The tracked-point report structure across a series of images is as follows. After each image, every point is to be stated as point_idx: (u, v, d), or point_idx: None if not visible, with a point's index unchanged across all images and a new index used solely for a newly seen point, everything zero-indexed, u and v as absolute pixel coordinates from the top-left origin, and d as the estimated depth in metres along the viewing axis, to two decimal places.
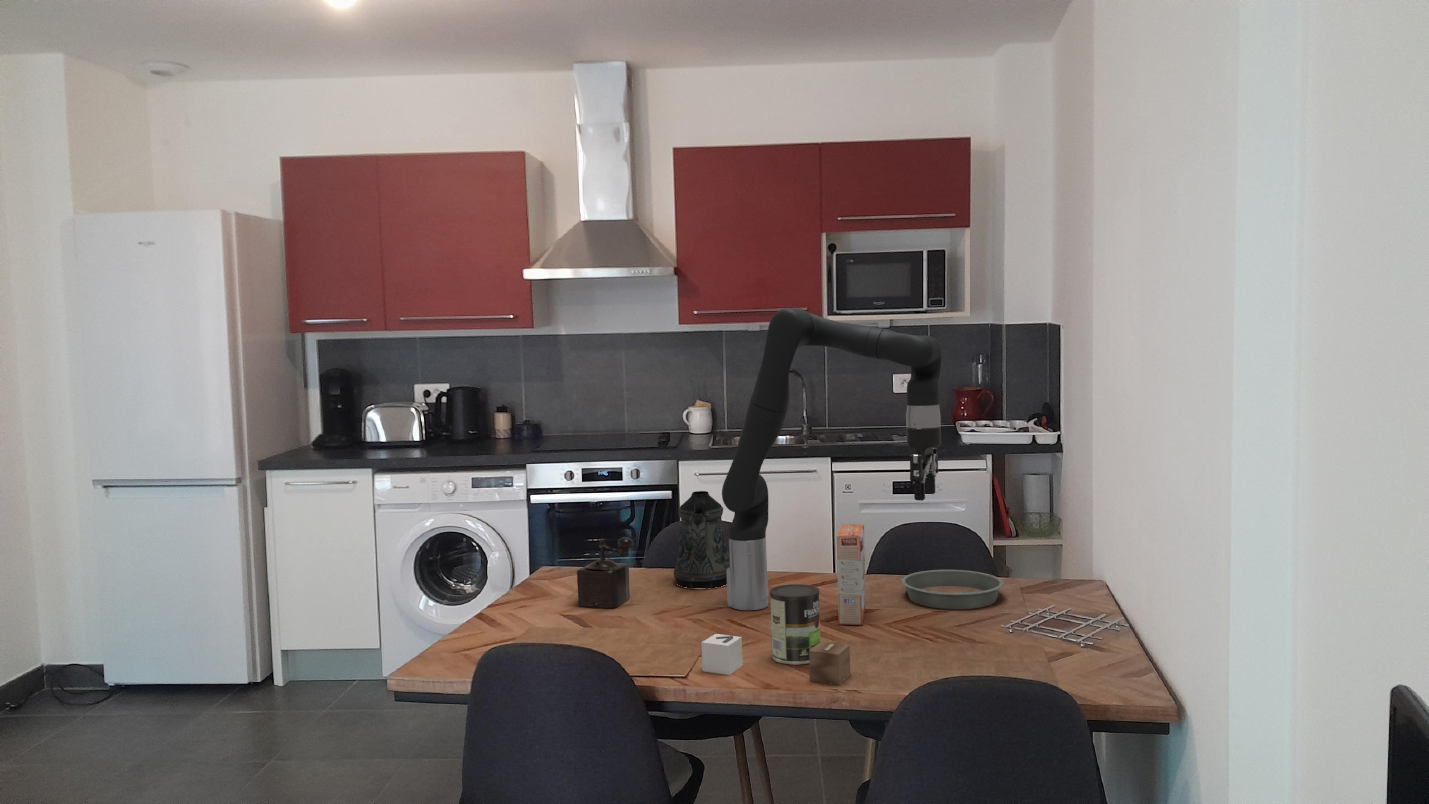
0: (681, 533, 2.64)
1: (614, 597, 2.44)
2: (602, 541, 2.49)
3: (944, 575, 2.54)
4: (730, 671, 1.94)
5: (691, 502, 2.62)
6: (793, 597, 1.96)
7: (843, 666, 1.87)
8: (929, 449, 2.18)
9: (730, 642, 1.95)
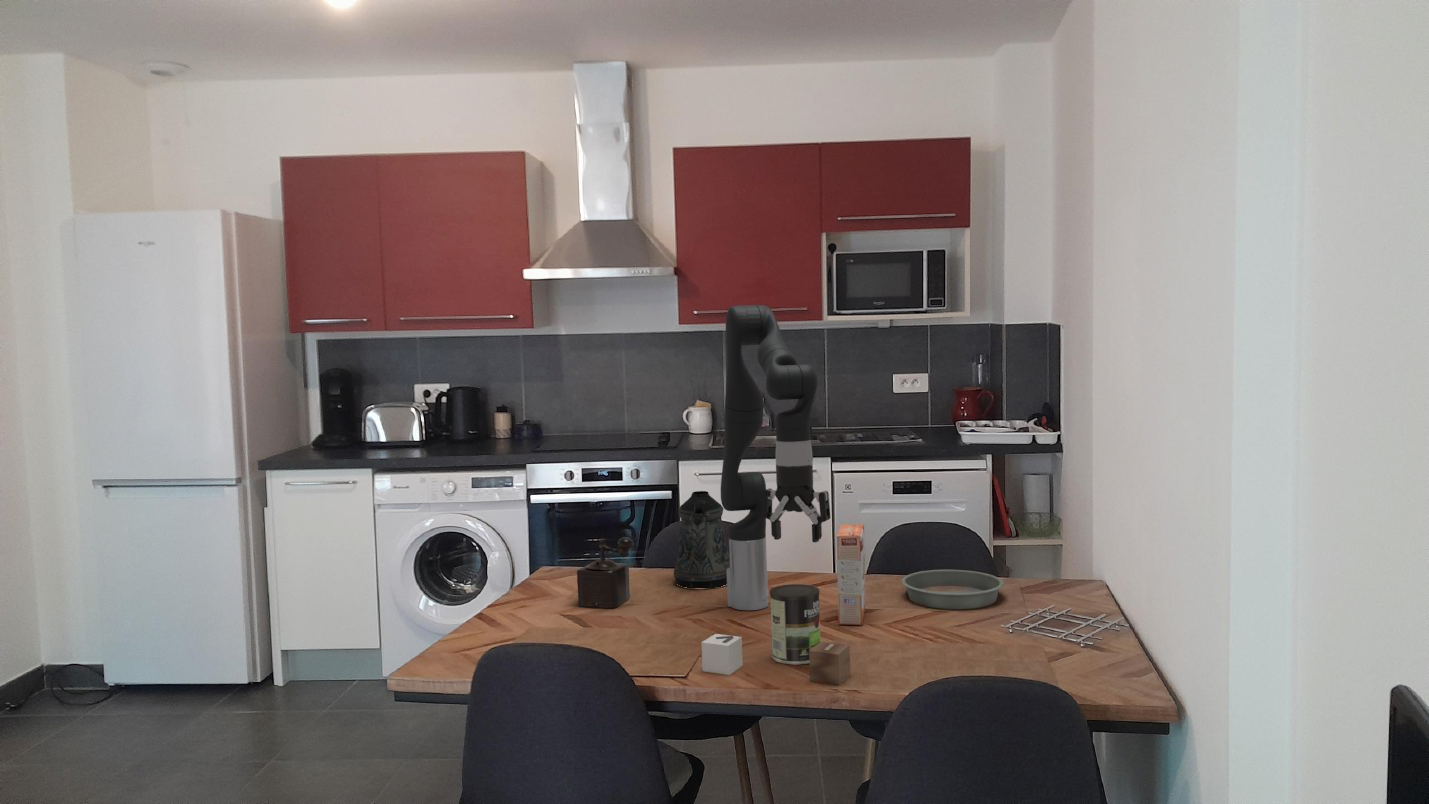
0: (681, 533, 2.64)
1: (614, 597, 2.44)
2: (602, 541, 2.49)
3: (944, 575, 2.54)
4: (730, 671, 1.94)
5: (691, 502, 2.62)
6: (793, 597, 1.96)
7: (843, 666, 1.87)
8: None
9: (730, 642, 1.95)
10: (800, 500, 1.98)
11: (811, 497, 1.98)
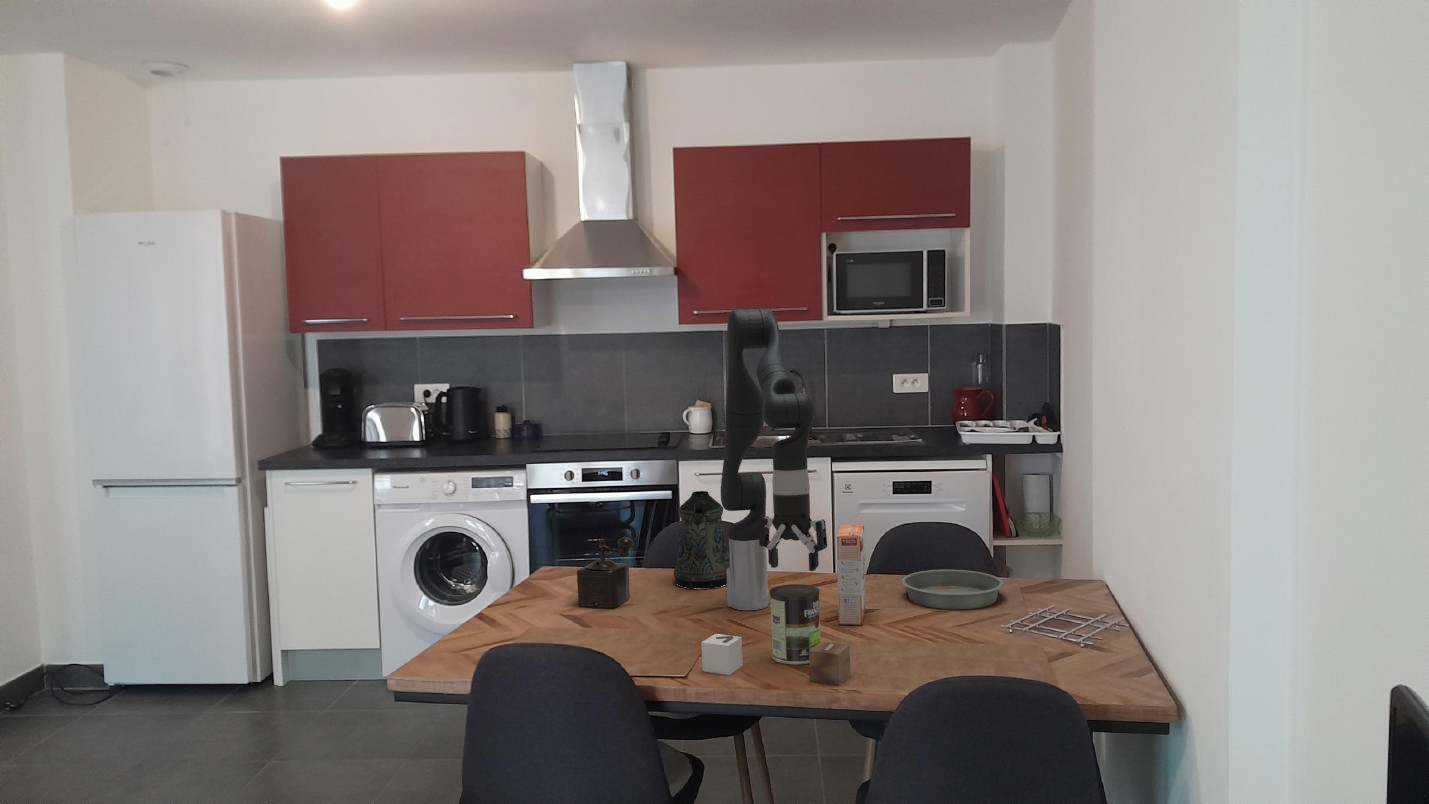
0: (681, 533, 2.64)
1: (614, 597, 2.44)
2: (602, 541, 2.49)
3: (944, 575, 2.54)
4: (730, 671, 1.94)
5: (691, 502, 2.62)
6: (793, 597, 1.96)
7: (843, 666, 1.87)
8: None
9: (730, 642, 1.95)
10: (797, 529, 1.98)
11: (808, 526, 1.98)
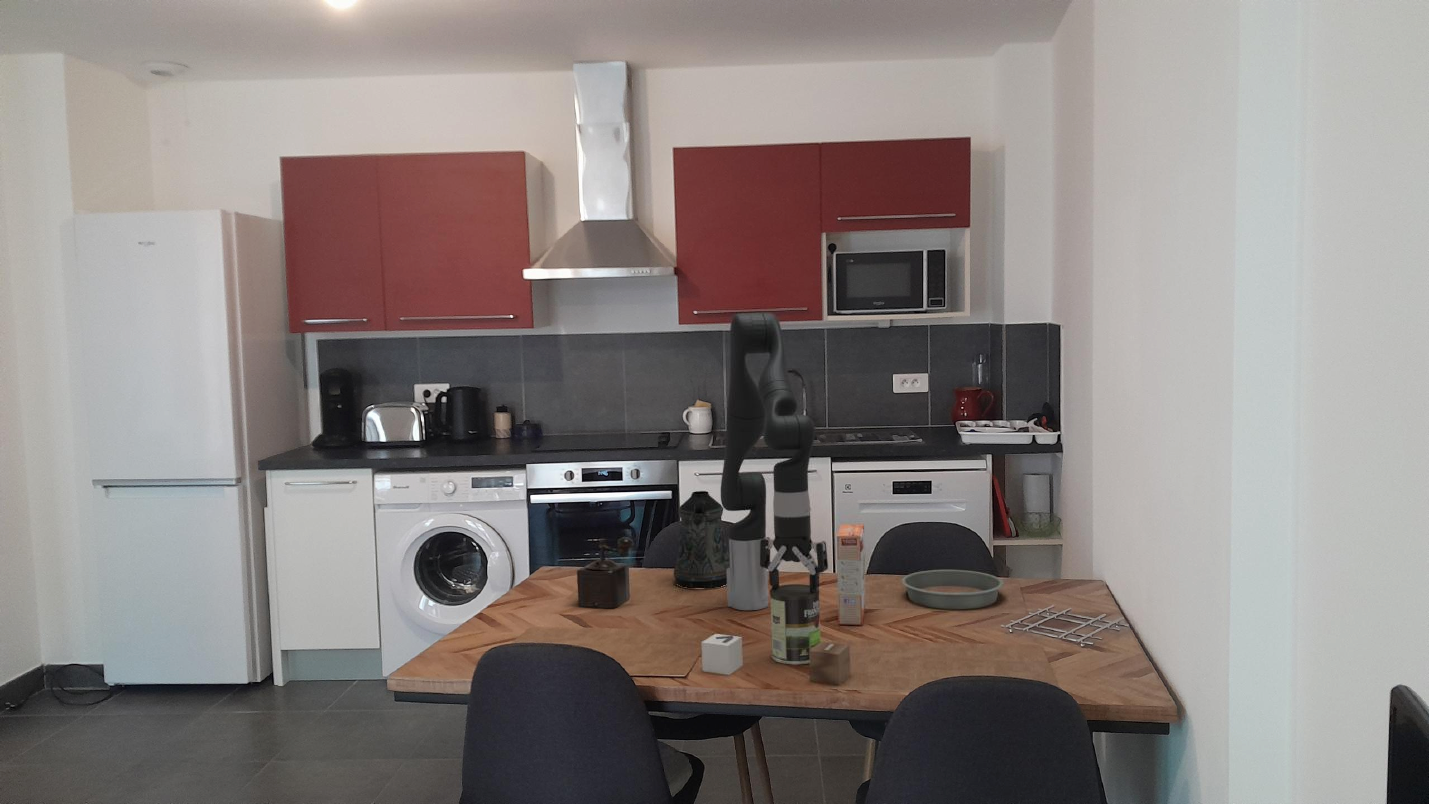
0: (681, 533, 2.64)
1: (614, 597, 2.44)
2: (602, 541, 2.49)
3: (944, 575, 2.54)
4: (730, 671, 1.94)
5: (691, 502, 2.62)
6: (793, 597, 1.96)
7: (843, 666, 1.87)
8: None
9: (730, 642, 1.95)
10: (798, 550, 1.98)
11: (809, 548, 1.98)
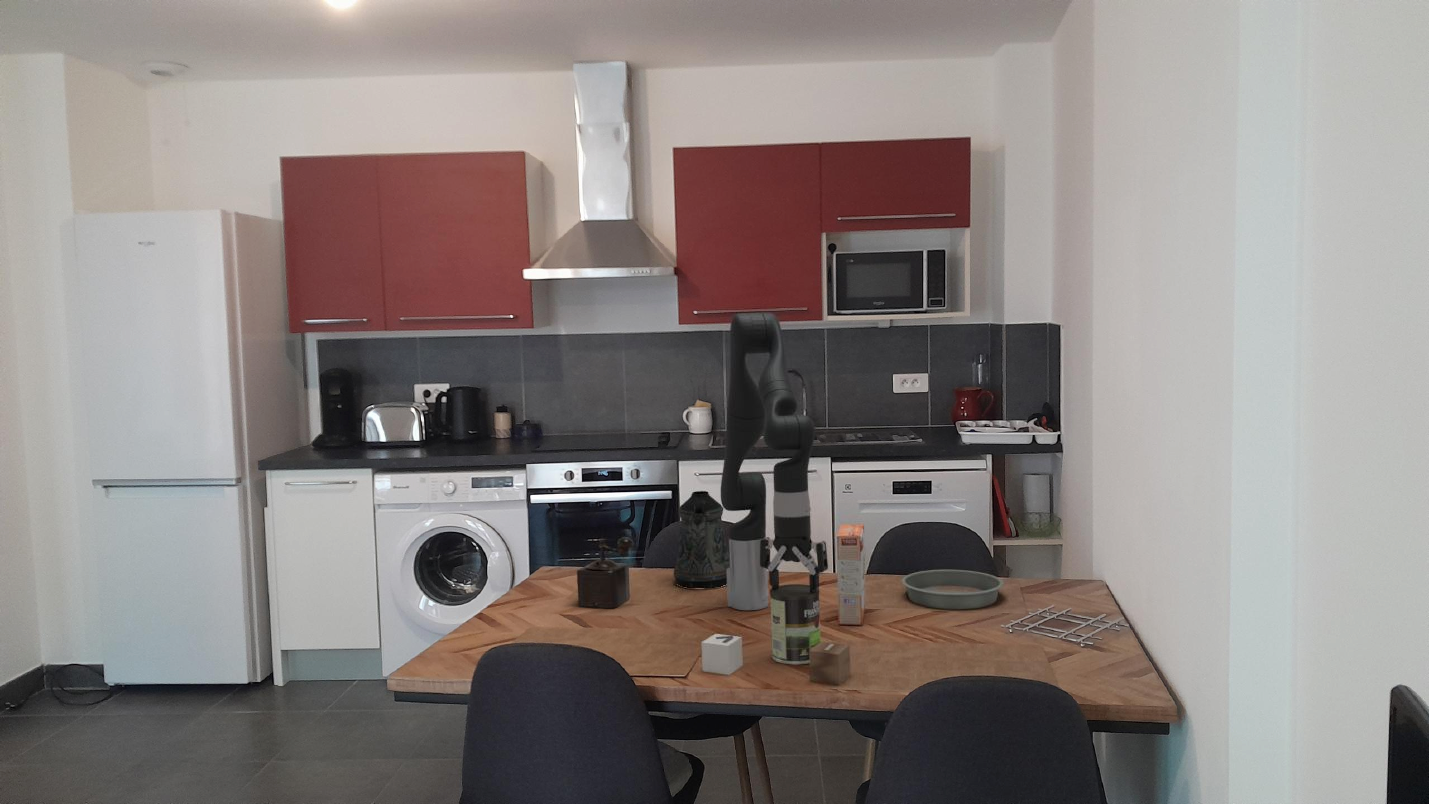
0: (681, 533, 2.64)
1: (614, 597, 2.44)
2: (602, 541, 2.49)
3: (944, 575, 2.54)
4: (730, 671, 1.94)
5: (691, 502, 2.62)
6: (793, 597, 1.96)
7: (843, 666, 1.87)
8: None
9: (730, 642, 1.95)
10: (798, 550, 1.98)
11: (809, 548, 1.98)
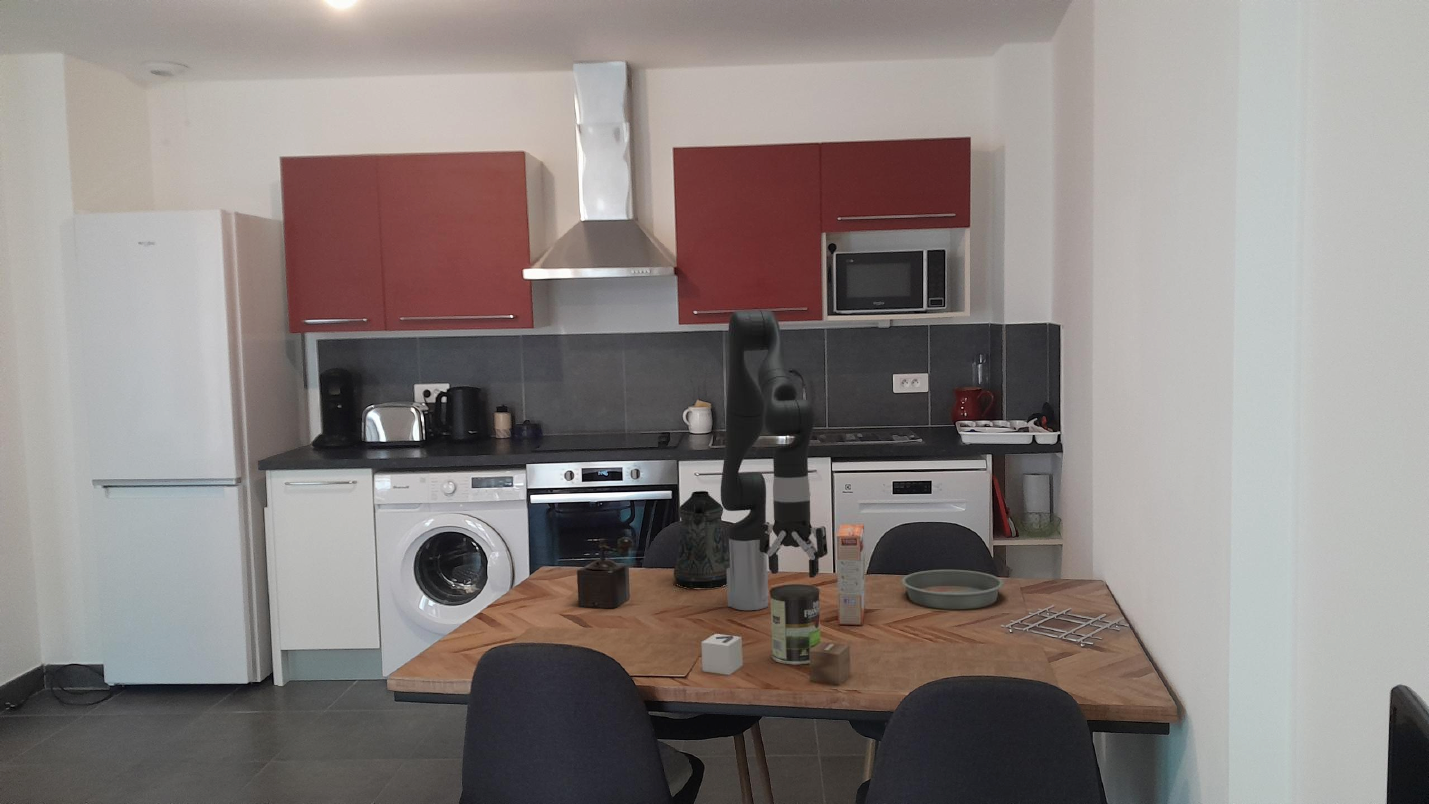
0: (681, 533, 2.64)
1: (614, 597, 2.44)
2: (602, 541, 2.49)
3: (944, 575, 2.54)
4: (730, 671, 1.94)
5: (691, 502, 2.62)
6: (793, 597, 1.96)
7: (843, 666, 1.87)
8: None
9: (730, 642, 1.95)
10: (797, 535, 1.98)
11: (808, 533, 1.98)
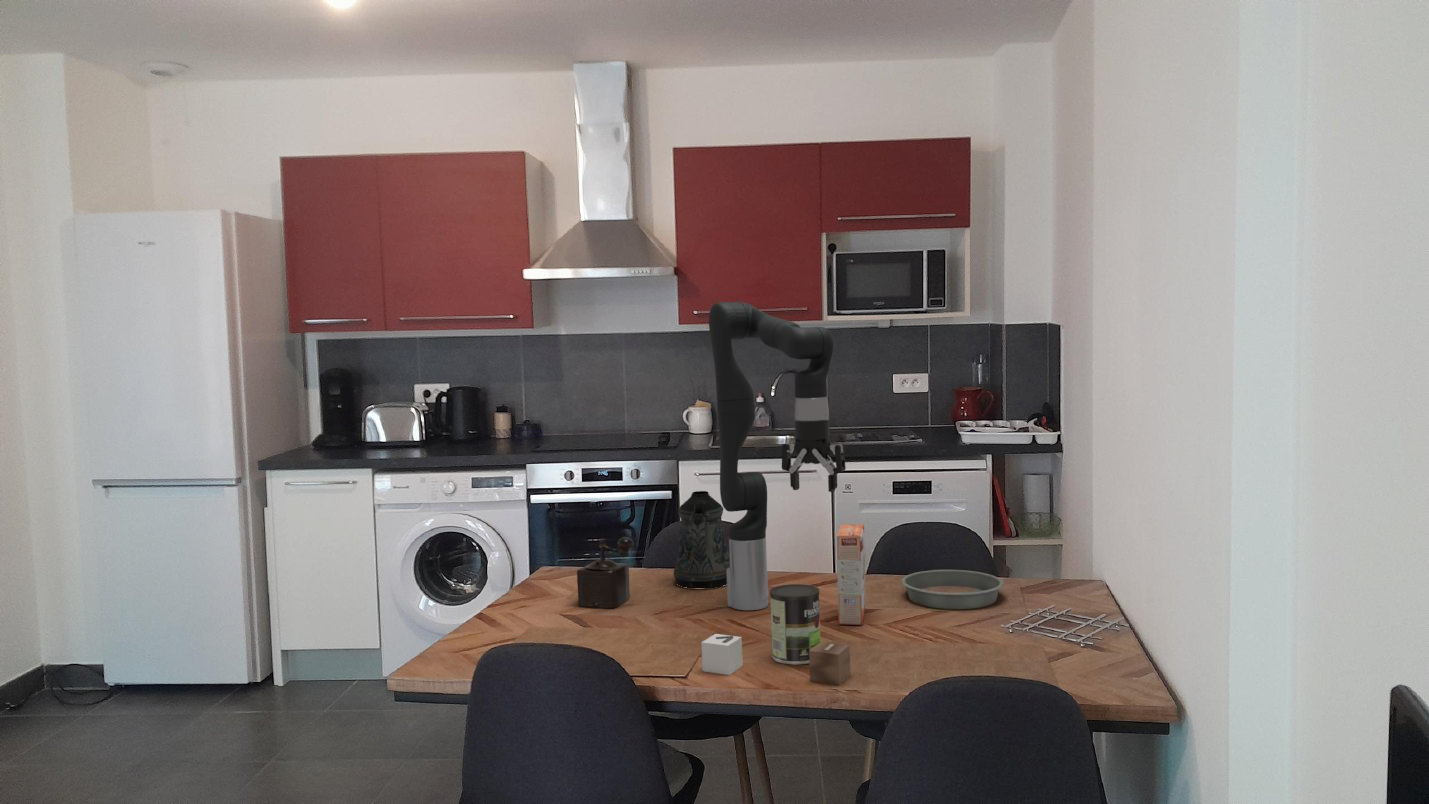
0: (681, 533, 2.64)
1: (614, 597, 2.44)
2: (602, 541, 2.49)
3: (944, 575, 2.54)
4: (730, 671, 1.93)
5: (691, 502, 2.62)
6: (793, 597, 1.96)
7: (843, 666, 1.87)
8: None
9: (730, 642, 1.95)
10: (817, 452, 2.13)
11: (827, 450, 2.13)
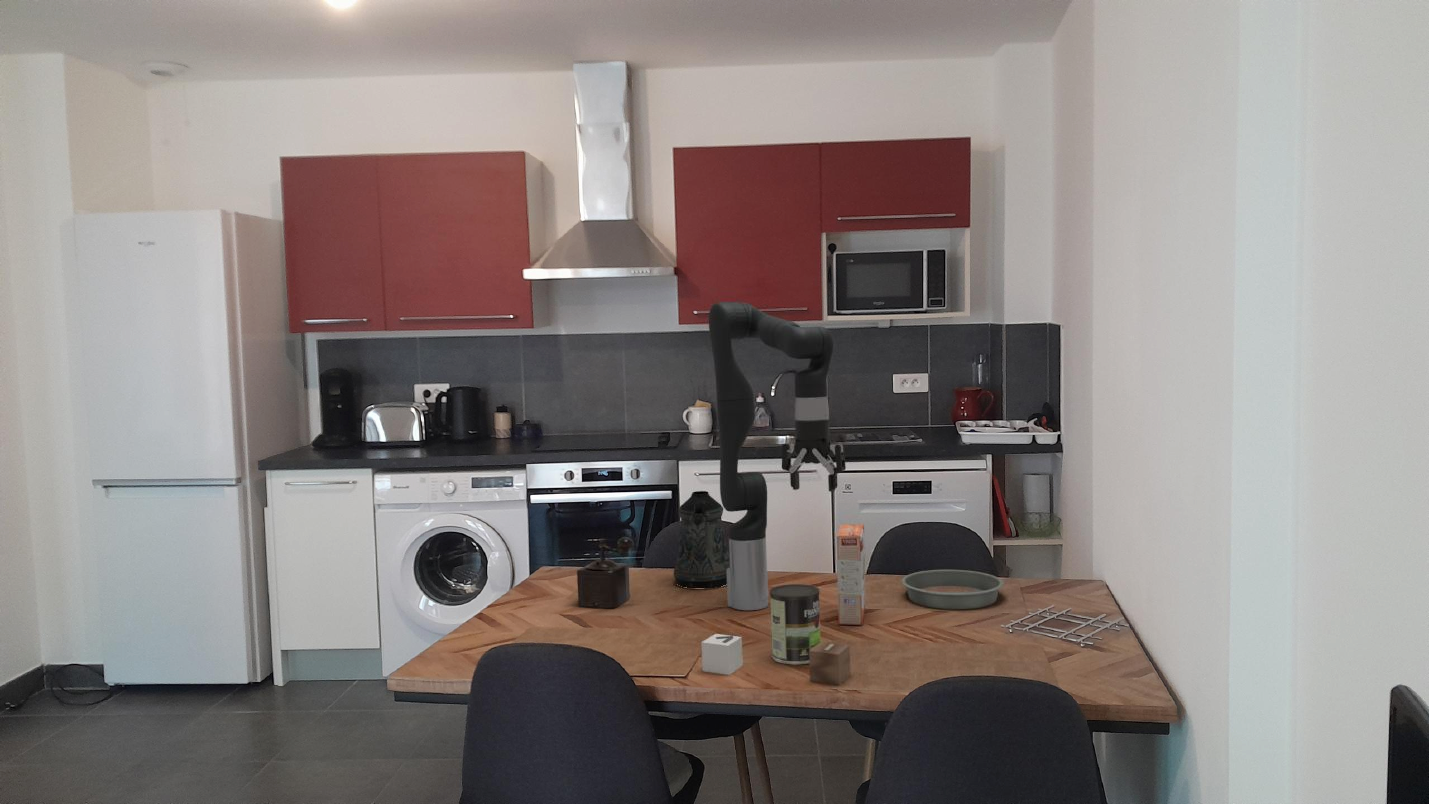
0: (681, 533, 2.64)
1: (614, 597, 2.44)
2: (602, 541, 2.49)
3: (944, 575, 2.54)
4: (730, 671, 1.93)
5: (691, 502, 2.62)
6: (793, 597, 1.96)
7: (843, 666, 1.87)
8: None
9: (730, 642, 1.95)
10: (817, 452, 2.13)
11: (828, 449, 2.13)
